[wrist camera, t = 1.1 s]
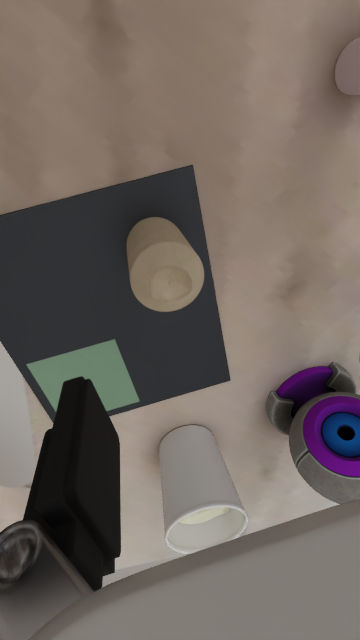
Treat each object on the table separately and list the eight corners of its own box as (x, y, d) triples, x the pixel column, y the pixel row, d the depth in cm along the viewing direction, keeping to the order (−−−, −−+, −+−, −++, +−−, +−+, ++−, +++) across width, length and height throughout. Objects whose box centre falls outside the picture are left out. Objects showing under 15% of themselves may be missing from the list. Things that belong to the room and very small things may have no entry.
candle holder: (139, 451, 45) (146, 543, 35) (187, 410, 42) (210, 496, 32) (186, 473, 49) (205, 560, 39) (231, 437, 47) (264, 519, 37)
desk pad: (-69, 233, 26) (-70, 233, 26) (192, 164, 27) (192, 165, 27) (59, 430, 40) (58, 431, 40) (229, 379, 41) (230, 380, 41)
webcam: (343, 347, 42) (443, 439, 29) (355, 405, 49) (441, 500, 36) (255, 389, 43) (315, 496, 30) (278, 440, 49) (336, 544, 37)
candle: (143, 281, 32) (153, 333, 23) (115, 233, 29) (115, 272, 20) (191, 256, 31) (220, 300, 23) (168, 205, 29) (191, 233, 20)
